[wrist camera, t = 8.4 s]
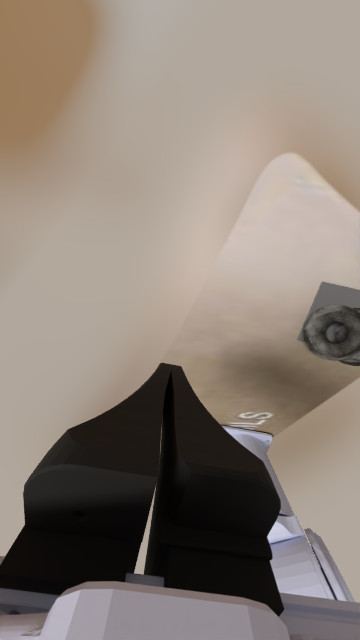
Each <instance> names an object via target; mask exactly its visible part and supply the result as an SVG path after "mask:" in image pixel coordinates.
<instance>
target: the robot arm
mask: <svg viewBox="0 0 360 640" xmlns="http://www.w3.org/2000/svg"><path fill="white" fill-rule="evenodd" d="M162 415H163V416H162ZM161 427H162V437H161ZM272 439H273V437H272V435H271V434H267V433H261V432H256V431H250V430H244V429H239V428H233V427H227V426H221V425H220V424H219V423H218V422H217V421H216V420H215V419H214V418H213V417H212V415H211V414H210V413H209V412H208V411H207V409H206V408H205V407H204V406H203V404H202V403H201V402H200V400H199V399H198V397H197V396H196V394H195V393H194V391H193V389H192V387H191V386H190V384H189V382H188V380H187V378H186V376H185V374H184V371H183V369H182V367H181V366H176V365H171V364H166V363H160V364H159V366H158V368H157V369H156V371H155V372H154V373H153V375H152V376H151V377H150V378H149V379H148V380H147V381H146V382H145V383H144V384H143V385H142V386H141V387H140V388H139V389H138V390H137V391H136V392H134V393H133V394H132V395H131V396H129V397H128V398H127V399H125V400H124V401H122V402H121V403H120V404H118V405H116V406H115V407H113V408H112V409H110V410H108V411H106V412H105V413H103V414H101V415H99V416H97V417H96V418H93V419H91V420H89V421H86V422H84V423H82V424H80V425H77V426H75V427H72V428H70V429H68V430H67V431H66V432H65V433H64V434H63V435H62V436H61V438H60V439H59V440H58V441H57V442H56V443H55V444H54V445H53V447H52V448H51V449H50V450H49V451H48V453H47V454H46V455H45V456H44V458H43V459H42V461H41V462H40V463H39V465H38V466H37V467H36V469H35V470H34V471H33V473H32V474H31V476H30V477H29V479H28V480H27V482H26V483H25V485H24V492H23V498H24V514H25V525H24V527H23V529H22V530H21V532H20V534H19V535H18V537H17V539H16V540H15V542H14V543H13V545H12V547H11V548H10V550H9V551H8V553H7V555H6V556H5V557H4V556H0V640H360V603H357V602H355V601H354V599H353V597H352V595H351V593H350V591H349V589H348V587H347V585H346V583H345V581H344V579H343V577H342V575H341V573H340V572H339V570H338V568H337V566H336V564H335V562H334V560H333V559H332V557H331V555H330V553H329V551H328V549H327V547H326V546H325V544H324V542H323V541H322V539H321V537H320V536H318V535H317V534H316V533H313V531H312V530H311V529H305V532H306V535H307V537H308V539H309V541H310V544H311V547H312V549H313V552H314V554H315V556H316V558H317V560H318V562H319V564H318V562H317V560H316V558H315V556H314V554H313V552H312V550H311V547H310V545H309V543H308V541H307V539H306V537H305V535H304V533H303V530H302V528H301V526H300V524H299V522H298V520H297V517H296V516H295V515H294V513H293V511H292V509H291V507H290V505H289V502H288V500H287V498H286V496H285V494H284V491H283V489H282V487H281V485H280V483H279V481H278V479H277V476H276V474H275V472H274V470H273V468H272V465H271V464H270V461H269V459H268V457H267V455H266V452H267V450H268V448H269V445H270V444H271V441H272ZM160 442H161V452H160ZM159 460H160V461H159ZM155 487H156V491H155V499H154V506H153V513H152V520H151V527H150V534H149V541H148V549H147V555H146V562H145V569H144V575H141V574H134V570H135V566H136V562H137V558H138V553H139V549H140V545H141V542H142V540H143V536H144V532H145V528H146V524H147V520H148V515H149V511H150V507H151V503H152V499H153V495H154V490H155ZM319 565H320V567H321V568H320V567H319Z"/></svg>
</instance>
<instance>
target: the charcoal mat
mask: <svg viewBox="0 0 360 640" xmlns="http://www.w3.org/2000/svg"><path fill="white" fill-rule="evenodd" d="M329 305H344V306H348V307H351V308H360V290H357V289H352V288H348V287H344V286H339V285H335V284H330V283H326V282H322V283H321V286H320V288H319V290H318V293H317V295H316V297H315V300H314V302H313V304H312V307H311V309H310V311H309V314H308V316H307V318H306V320H307V319H308V318H309V316H310V315H311V314H312V313H314V312H315V311H316V310H318V309H320V308H322V307H324V306H329ZM305 323H306V321H305ZM305 323H304V325H305ZM304 325H303V328H302V330H301V332H300V335H299V337H298V340H300V341H304V338H303V329H304Z"/></svg>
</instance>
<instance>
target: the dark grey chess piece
mask: <svg viewBox="0 0 360 640" xmlns="http://www.w3.org/2000/svg"><path fill="white" fill-rule="evenodd" d="M303 338H304V341H305V344H306V345H307V347H308V348H309V350H310V351H312V352H313V353H314V354H315V355H317V356H319V357H321V358H324V359H328V360H338V361H340V362H342V363H344V364H348V365H352V366H360V308H351V307H348V306H344V305H329V306H324V307H322V308H320V309H318V310H316V311H315V312H314V313H312V314H311V315H310V316H309V318H308V319H307V320H306V323H305V325H304V329H303Z"/></svg>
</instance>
